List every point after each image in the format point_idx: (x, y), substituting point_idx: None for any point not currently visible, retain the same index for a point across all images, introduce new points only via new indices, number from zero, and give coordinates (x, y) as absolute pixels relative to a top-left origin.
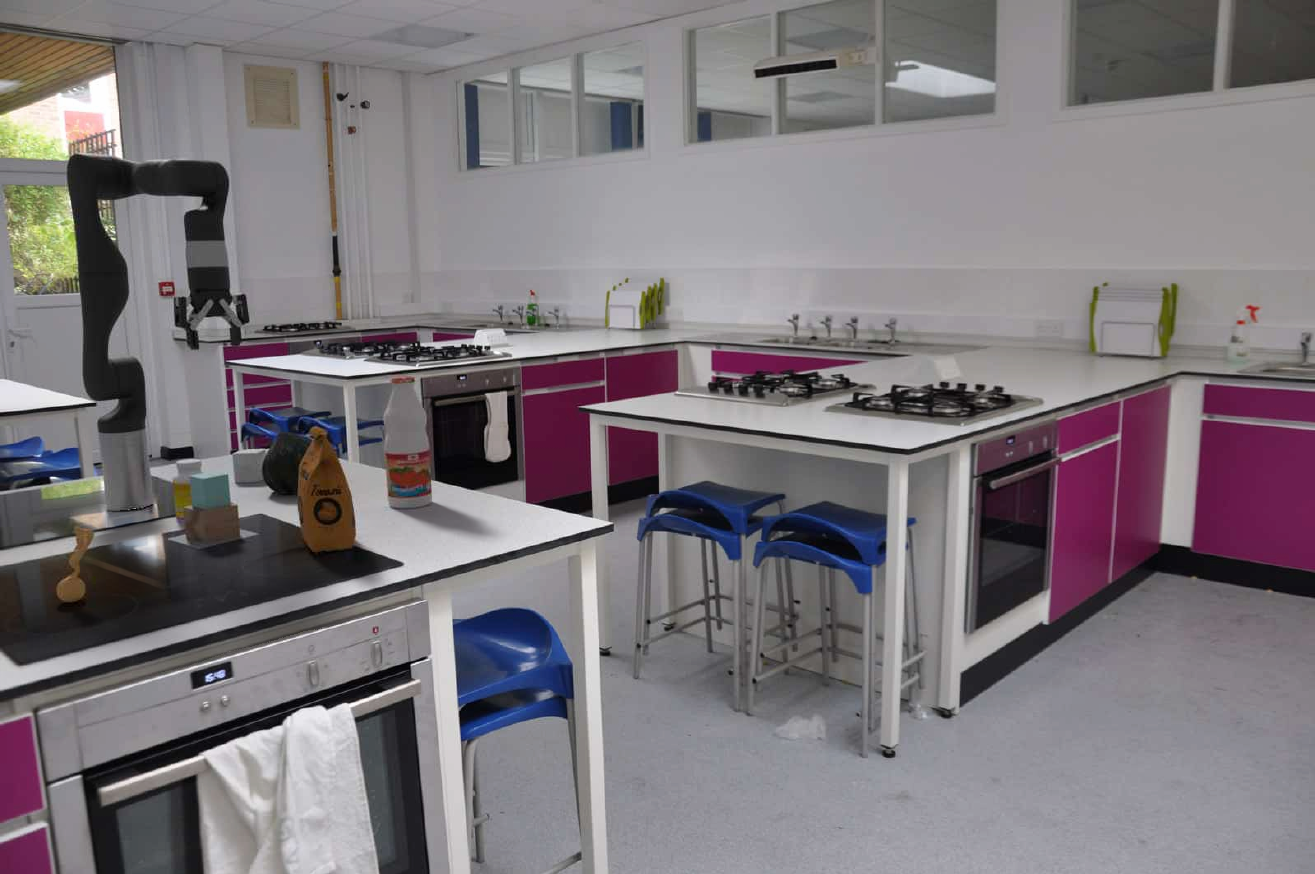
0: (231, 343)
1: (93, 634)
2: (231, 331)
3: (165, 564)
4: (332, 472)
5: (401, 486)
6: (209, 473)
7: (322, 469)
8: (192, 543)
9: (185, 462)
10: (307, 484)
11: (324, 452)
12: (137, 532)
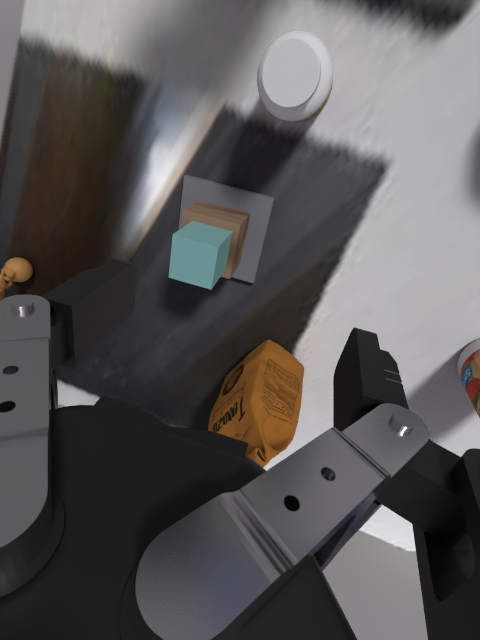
0: (352, 337)
1: None
2: (353, 394)
3: (133, 252)
4: None
5: (466, 388)
6: (201, 255)
7: None
8: None
9: (273, 84)
10: (209, 427)
11: None
12: (210, 48)
